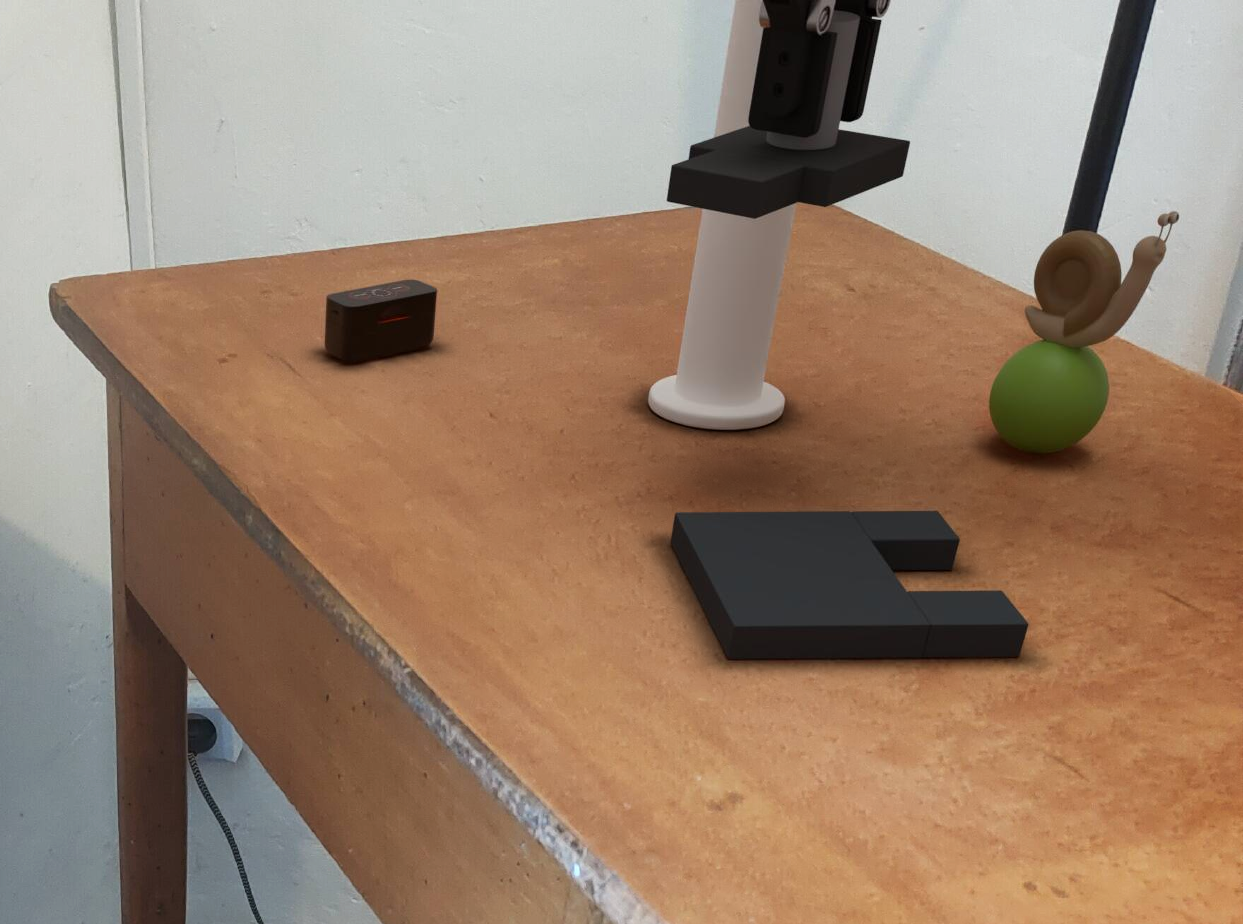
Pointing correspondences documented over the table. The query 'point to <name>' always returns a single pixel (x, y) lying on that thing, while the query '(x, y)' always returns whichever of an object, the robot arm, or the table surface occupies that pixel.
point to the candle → (731, 283)
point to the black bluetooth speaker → (380, 320)
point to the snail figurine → (1070, 339)
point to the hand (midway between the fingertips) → (805, 120)
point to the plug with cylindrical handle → (790, 156)
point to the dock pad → (837, 586)
